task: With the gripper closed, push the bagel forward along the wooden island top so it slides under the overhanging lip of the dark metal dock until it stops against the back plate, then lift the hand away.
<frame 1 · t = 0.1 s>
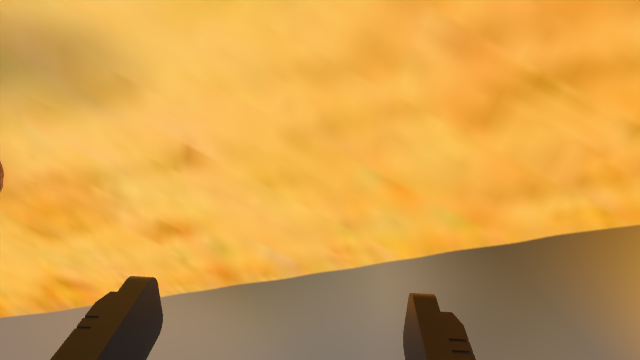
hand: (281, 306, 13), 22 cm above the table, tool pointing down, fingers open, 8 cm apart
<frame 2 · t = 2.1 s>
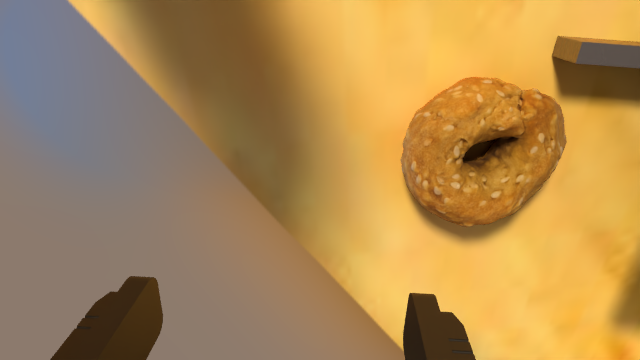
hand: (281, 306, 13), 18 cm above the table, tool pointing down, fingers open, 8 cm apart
metal dock: (639, 159, 29), on the table
bagel: (474, 141, 30), on the table
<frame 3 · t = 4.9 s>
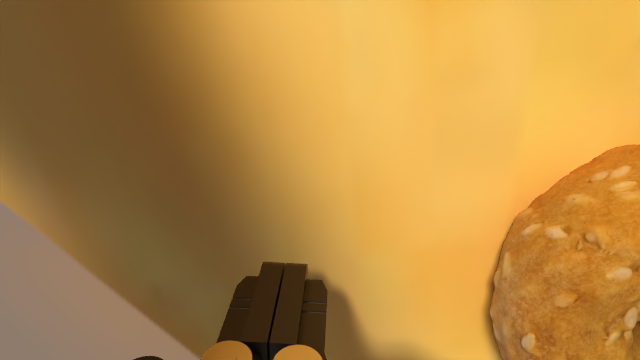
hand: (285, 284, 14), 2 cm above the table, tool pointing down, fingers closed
bagel: (624, 255, 15), on the table
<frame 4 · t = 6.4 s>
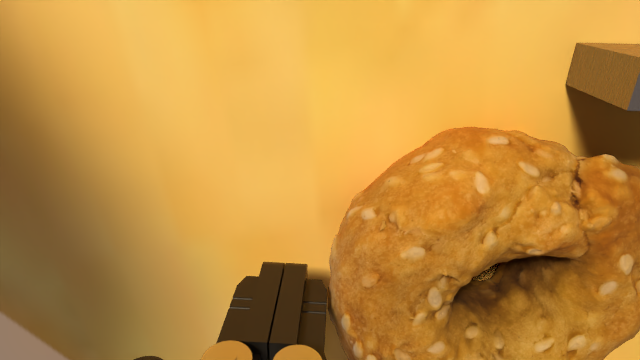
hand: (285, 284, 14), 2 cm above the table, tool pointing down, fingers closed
bagel: (476, 241, 16), on the table
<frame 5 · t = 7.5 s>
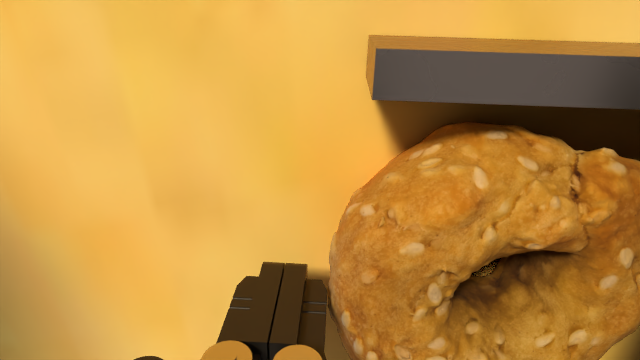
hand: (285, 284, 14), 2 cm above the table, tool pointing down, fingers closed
metal dock: (572, 263, 15), on the table
bagel: (476, 237, 16), on the table
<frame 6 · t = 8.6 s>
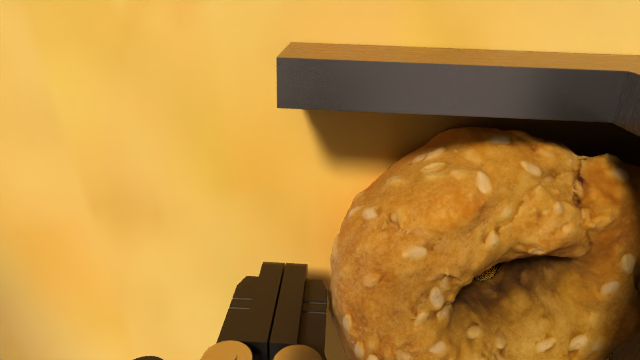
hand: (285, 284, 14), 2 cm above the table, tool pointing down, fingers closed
metal dock: (507, 269, 15), on the table
bagel: (477, 241, 16), on the table
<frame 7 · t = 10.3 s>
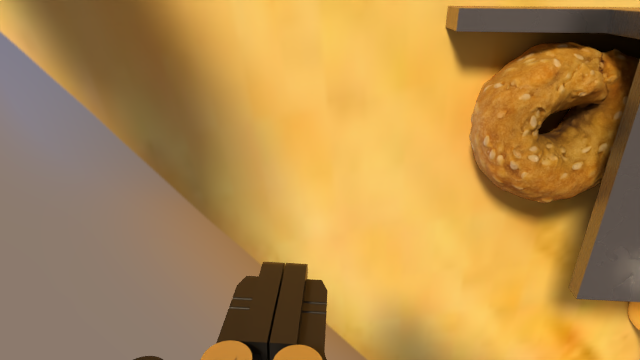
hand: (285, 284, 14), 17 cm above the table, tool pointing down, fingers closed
metal dock: (553, 130, 28), on the table
bagel: (545, 113, 28), on the table
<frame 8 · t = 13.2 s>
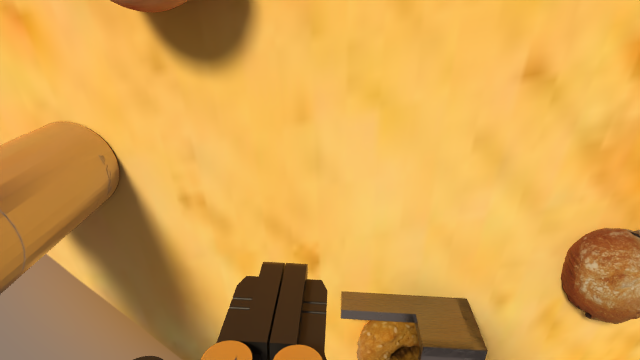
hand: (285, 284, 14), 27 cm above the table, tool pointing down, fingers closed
metal dock: (404, 345, 51), on the table
bagel: (401, 334, 51), on the table
bread roll: (603, 265, 45), on the table
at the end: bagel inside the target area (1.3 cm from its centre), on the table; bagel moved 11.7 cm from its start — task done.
